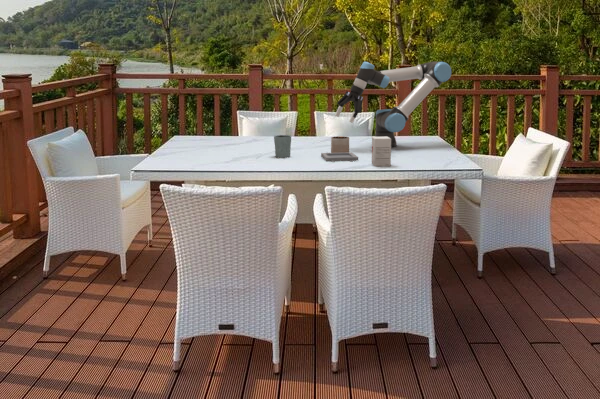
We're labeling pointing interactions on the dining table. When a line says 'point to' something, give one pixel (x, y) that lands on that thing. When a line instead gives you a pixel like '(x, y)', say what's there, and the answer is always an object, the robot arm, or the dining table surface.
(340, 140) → the planter
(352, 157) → the grey tray
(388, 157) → the supplement box
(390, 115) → the robot arm
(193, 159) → the dining table surface
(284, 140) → the grey cup
